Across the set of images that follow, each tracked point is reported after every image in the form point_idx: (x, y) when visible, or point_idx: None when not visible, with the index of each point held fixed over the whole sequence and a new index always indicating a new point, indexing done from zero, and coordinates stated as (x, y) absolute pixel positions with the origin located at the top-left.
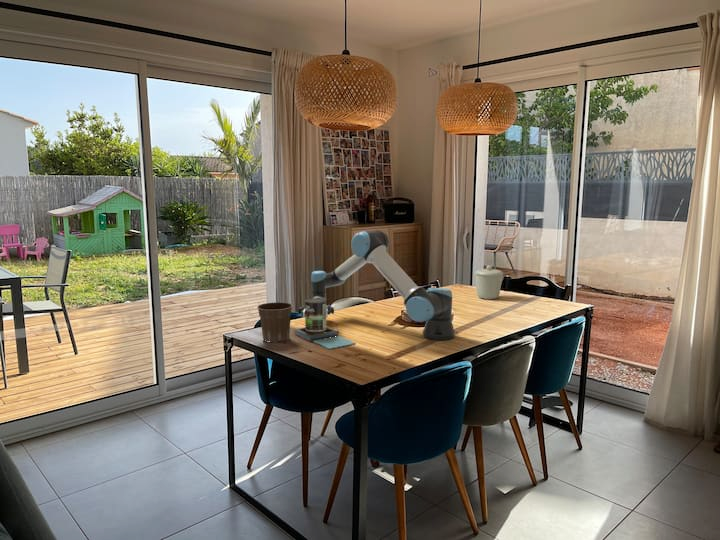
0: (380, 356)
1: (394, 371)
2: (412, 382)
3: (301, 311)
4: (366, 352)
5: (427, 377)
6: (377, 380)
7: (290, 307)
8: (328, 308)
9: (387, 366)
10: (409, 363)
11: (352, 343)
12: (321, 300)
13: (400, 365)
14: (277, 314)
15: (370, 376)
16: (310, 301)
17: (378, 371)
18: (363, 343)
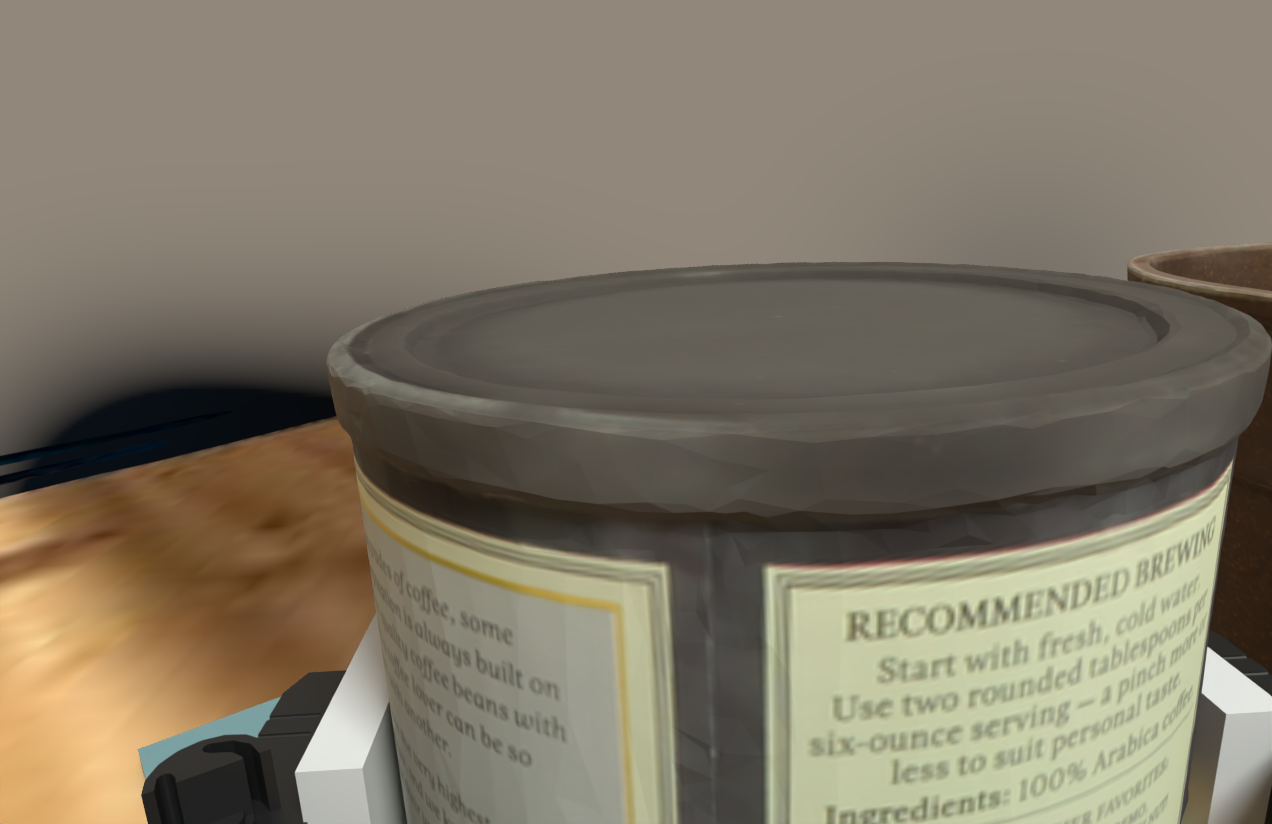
0: (119, 560)
1: (194, 457)
2: (192, 419)
3: (1227, 646)
4: (176, 603)
5: (88, 439)
6: (328, 418)
7: (1132, 272)
8: (258, 771)
9: (189, 482)
10: (21, 509)
11: (189, 731)
12: (532, 337)
13: (102, 492)
14: None
15: (341, 430)
16: (897, 291)
17: (276, 453)
18: (10, 797)
